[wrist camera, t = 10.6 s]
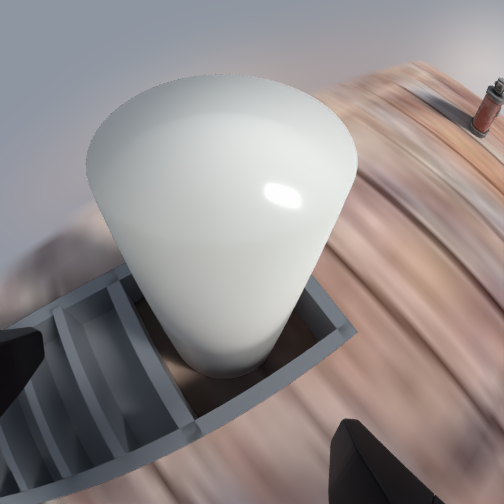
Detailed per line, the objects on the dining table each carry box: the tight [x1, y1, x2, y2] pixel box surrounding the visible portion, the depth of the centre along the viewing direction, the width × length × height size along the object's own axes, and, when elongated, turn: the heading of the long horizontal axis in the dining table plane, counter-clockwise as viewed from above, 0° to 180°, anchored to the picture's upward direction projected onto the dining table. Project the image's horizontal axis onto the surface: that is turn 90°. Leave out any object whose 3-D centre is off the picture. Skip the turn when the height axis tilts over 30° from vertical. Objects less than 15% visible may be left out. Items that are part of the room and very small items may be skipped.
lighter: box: [469, 78, 504, 138], centre depth 31 cm, size 8×3×10 cm, turn 133°
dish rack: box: [0, 263, 357, 504], centre depth 14 cm, size 23×10×4 cm, turn 124°
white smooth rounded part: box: [86, 74, 357, 379], centre depth 12 cm, size 6×6×13 cm
